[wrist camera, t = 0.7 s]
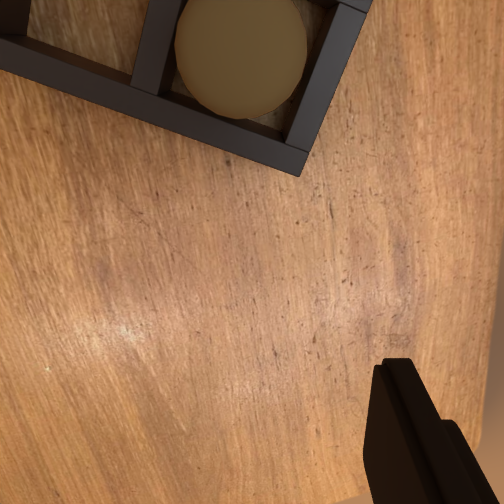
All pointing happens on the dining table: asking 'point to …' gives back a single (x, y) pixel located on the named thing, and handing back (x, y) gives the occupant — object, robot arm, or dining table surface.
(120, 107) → the holder
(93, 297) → the dining table surface
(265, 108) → the cork
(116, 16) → the dining table surface
